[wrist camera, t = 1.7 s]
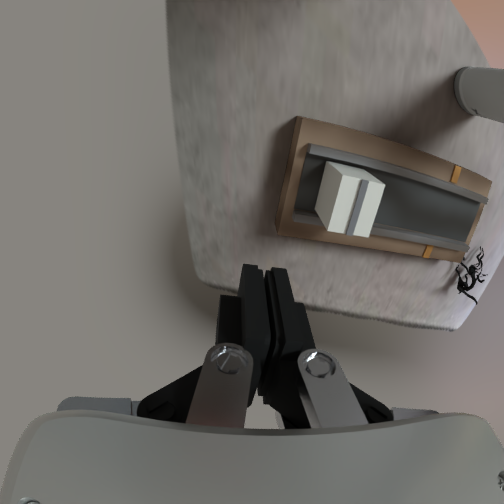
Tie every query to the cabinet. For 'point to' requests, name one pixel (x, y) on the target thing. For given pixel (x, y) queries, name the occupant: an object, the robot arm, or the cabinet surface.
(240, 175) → the cabinet surface
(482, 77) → the travel mug
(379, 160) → the fader console
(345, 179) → the fader tab
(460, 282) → the creature
